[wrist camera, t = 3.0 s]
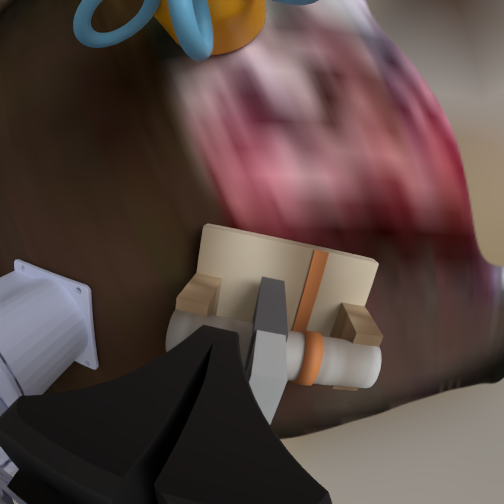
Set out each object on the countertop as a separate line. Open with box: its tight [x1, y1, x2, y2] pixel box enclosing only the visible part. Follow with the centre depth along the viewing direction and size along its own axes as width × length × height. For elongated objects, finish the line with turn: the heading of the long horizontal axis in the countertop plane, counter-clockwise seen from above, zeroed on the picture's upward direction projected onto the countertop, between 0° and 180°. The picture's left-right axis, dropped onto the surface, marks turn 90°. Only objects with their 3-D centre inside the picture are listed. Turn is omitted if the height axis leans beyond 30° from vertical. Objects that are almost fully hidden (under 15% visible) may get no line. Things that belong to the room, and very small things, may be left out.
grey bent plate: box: [244, 276, 288, 425], centre depth 11 cm, size 1×5×8 cm, turn 169°
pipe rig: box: [166, 223, 383, 391], centre depth 14 cm, size 10×9×6 cm
